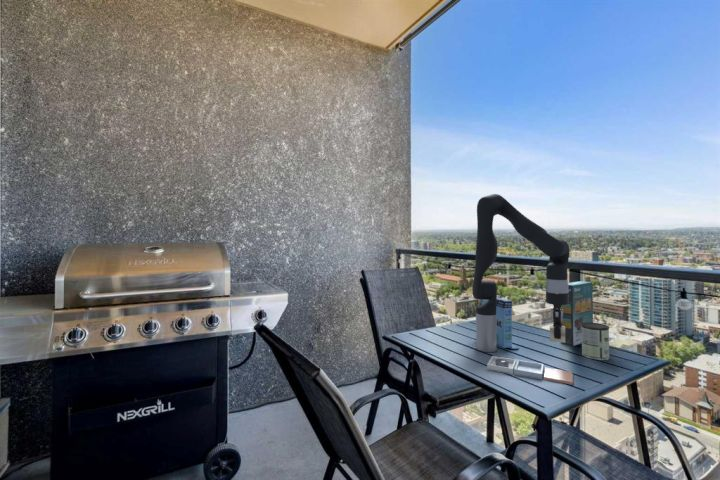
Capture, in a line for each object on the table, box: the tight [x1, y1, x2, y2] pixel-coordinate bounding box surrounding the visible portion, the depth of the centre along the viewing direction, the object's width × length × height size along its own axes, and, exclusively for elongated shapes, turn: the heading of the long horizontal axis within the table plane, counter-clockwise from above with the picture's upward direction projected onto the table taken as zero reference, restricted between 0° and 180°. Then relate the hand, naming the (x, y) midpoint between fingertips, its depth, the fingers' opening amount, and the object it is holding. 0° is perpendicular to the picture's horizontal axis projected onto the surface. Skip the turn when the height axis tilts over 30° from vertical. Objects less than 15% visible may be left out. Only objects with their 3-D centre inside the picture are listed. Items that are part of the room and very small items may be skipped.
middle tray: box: [513, 359, 545, 381], centre depth 133 cm, size 12×10×2 cm
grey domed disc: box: [496, 359, 509, 367], centre depth 138 cm, size 5×5×2 cm
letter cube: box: [549, 324, 565, 344], centre depth 128 cm, size 5×5×5 cm
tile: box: [543, 367, 574, 386], centre depth 128 cm, size 11×9×1 cm
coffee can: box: [581, 322, 610, 361], centre depth 150 cm, size 10×10×14 cm
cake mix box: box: [560, 280, 594, 347], centre depth 174 cm, size 22×6×30 cm, turn 123°
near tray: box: [486, 355, 518, 375], centre depth 138 cm, size 12×10×2 cm
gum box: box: [480, 296, 513, 349], centre depth 173 cm, size 20×5×23 cm, turn 13°
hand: (557, 335), depth 128 cm, fingers closed on letter cube, 5 cm apart
